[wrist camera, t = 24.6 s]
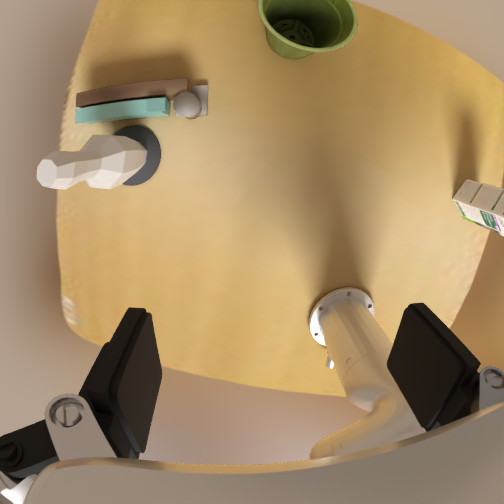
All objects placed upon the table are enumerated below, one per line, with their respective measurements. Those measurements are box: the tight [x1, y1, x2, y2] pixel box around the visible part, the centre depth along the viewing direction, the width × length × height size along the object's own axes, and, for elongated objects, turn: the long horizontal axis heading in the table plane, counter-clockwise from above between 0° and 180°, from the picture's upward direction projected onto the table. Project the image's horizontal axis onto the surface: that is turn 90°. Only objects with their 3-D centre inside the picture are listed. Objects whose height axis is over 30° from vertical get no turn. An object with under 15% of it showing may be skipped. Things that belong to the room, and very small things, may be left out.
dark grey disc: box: [114, 126, 161, 186], centre depth 39 cm, size 9×9×1 cm
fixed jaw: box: [76, 78, 208, 119], centre depth 33 cm, size 5×18×6 cm, turn 88°
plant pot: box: [258, 0, 358, 59], centre depth 29 cm, size 12×12×11 cm
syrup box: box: [452, 179, 504, 236], centre depth 37 cm, size 6×6×14 cm
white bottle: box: [37, 135, 147, 189], centre depth 28 cm, size 6×6×22 cm
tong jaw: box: [75, 97, 170, 124], centre depth 33 cm, size 2×14×6 cm, turn 87°
